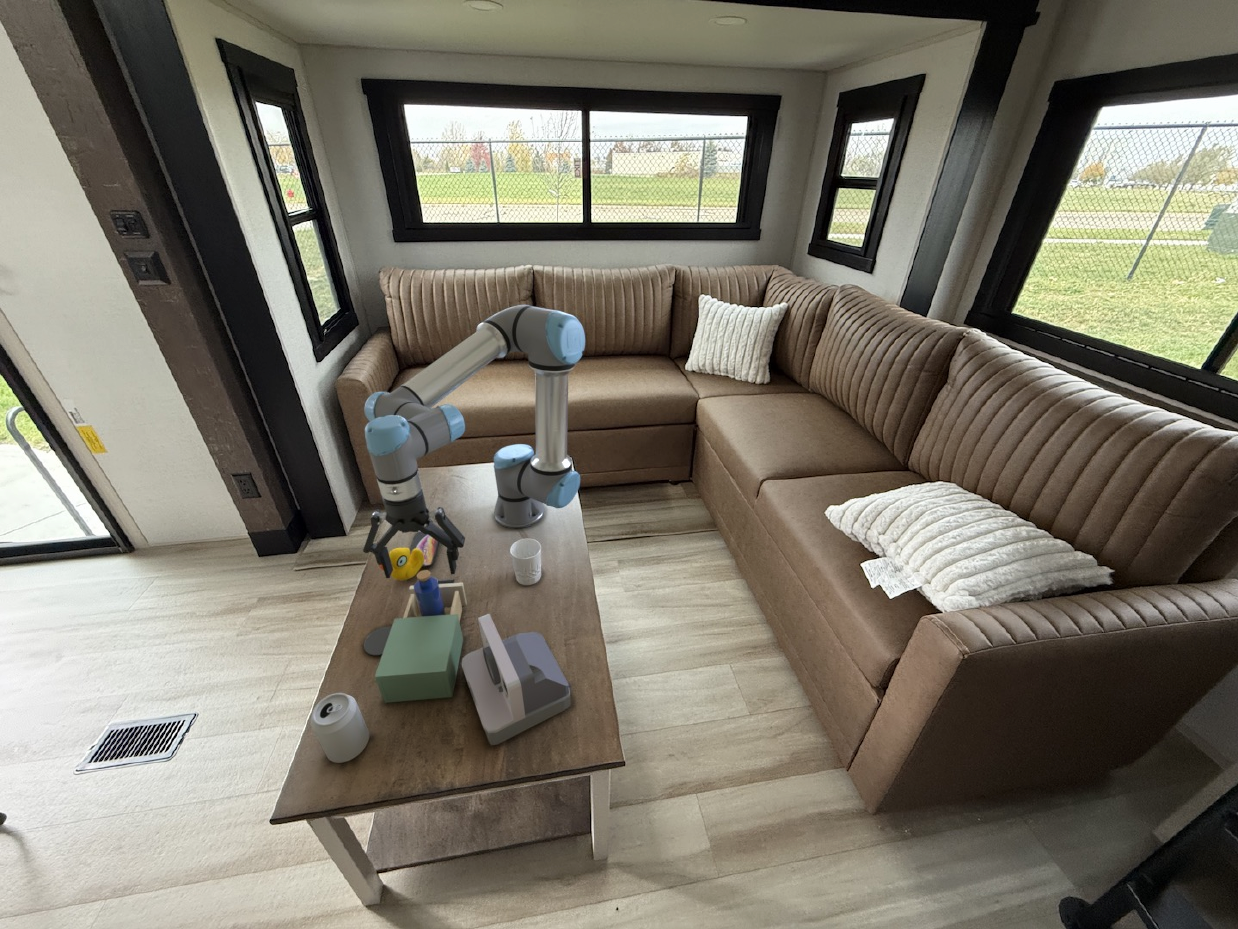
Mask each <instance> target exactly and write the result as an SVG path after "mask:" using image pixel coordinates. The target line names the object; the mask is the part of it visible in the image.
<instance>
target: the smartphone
mask: <svg viewBox="0 0 1238 929" xmlns="http://www.w3.org/2000/svg"><path fill="white" fill-rule="evenodd" d="M439 544H440V543H439V542H438V541H437V540H435V539H434V538H432V537H431V536H429V535H428V534H424V533H422V532H421V531H418V532H415V534H414V537H413V539H412V542H411V544H410V548H409V549H410V554H411V553H412V550H413V549H415V548H417V549H420V550H421V551H422V552H423V554H424V563H423V565H422V567H421V568H420V569H422V568H423V569H424V568H432V566H433V565H434V563H435V558H436V555H437V551H438V547H439Z"/></svg>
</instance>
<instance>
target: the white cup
mask: <svg viewBox="0 0 1238 929" xmlns="http://www.w3.org/2000/svg"><path fill="white" fill-rule="evenodd" d="M509 552H510V557H511V563H512V567H513V571H514V575H515V580H516V582H517V583H518V584H520V585H522V586H531V585H534V584H536V583H538V582H539V581H540V580H541V577H542V545H541V543H540V541H538V540H536V539H534V538H530V537H529V538H521V539H518V540H516V541H515V542H513V543H512V544H511V546H510V550H509Z"/></svg>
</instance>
